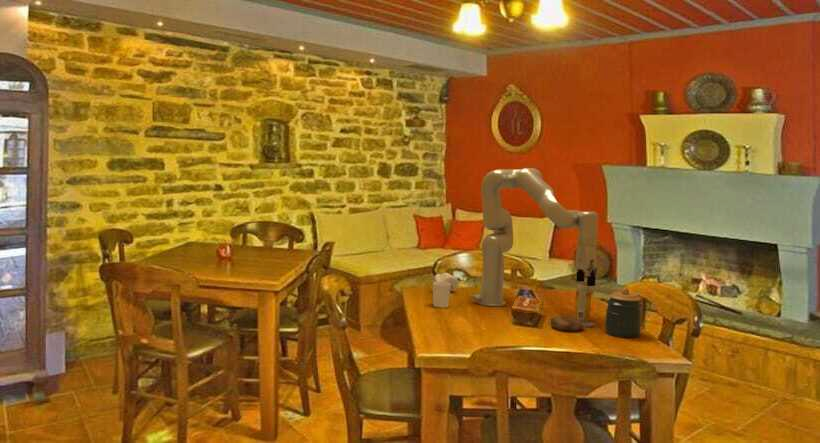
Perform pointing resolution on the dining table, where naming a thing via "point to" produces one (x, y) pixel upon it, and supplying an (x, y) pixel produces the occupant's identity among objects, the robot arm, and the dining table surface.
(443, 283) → the white cup
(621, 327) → the canister
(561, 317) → the stand
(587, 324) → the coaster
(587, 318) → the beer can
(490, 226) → the robot arm
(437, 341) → the dining table surface
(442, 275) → the grey rounded block
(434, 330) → the dining table surface
